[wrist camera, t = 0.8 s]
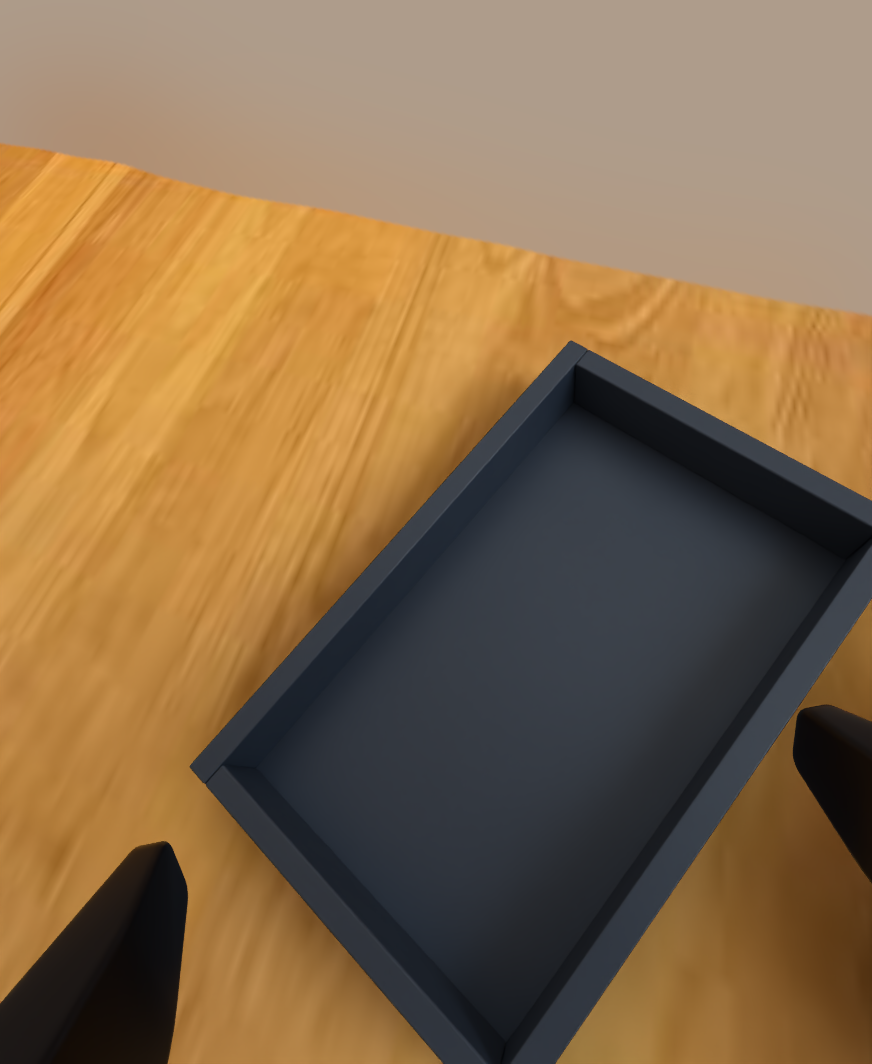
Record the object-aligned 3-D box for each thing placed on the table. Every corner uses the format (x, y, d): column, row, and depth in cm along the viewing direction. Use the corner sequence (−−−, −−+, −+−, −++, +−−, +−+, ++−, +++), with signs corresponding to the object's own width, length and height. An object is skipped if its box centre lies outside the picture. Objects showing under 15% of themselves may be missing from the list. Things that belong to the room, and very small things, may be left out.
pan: (873, 562, 21) (921, 526, 19) (513, 1084, 18) (505, 1137, 15) (568, 388, 26) (570, 339, 23) (234, 770, 22) (187, 766, 20)
